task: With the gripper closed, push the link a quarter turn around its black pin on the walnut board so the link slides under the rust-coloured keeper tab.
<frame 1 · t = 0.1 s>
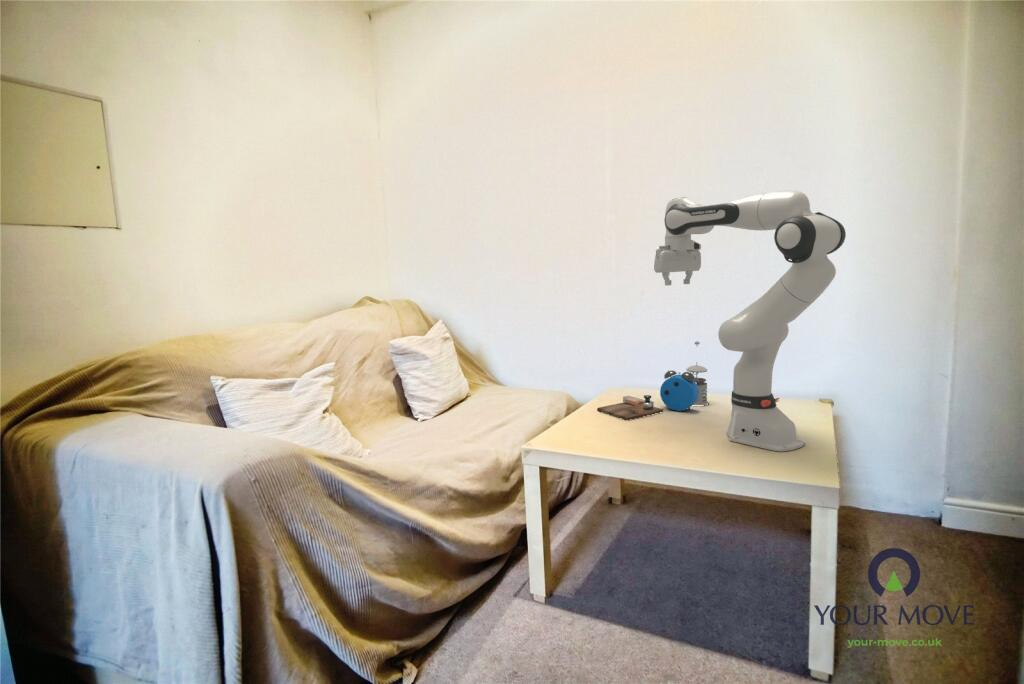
hand: (677, 284, 189), 48 cm above the table, tool pointing down, fingers open, 8 cm apart
keeper: (639, 416, 196), resting on pivot board
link: (638, 399, 205), point 4 cm above the table, hinge at 0.0°
french press: (696, 403, 212), on the table
pivot board: (629, 411, 202), on the table
alarm clock: (679, 410, 203), on the table
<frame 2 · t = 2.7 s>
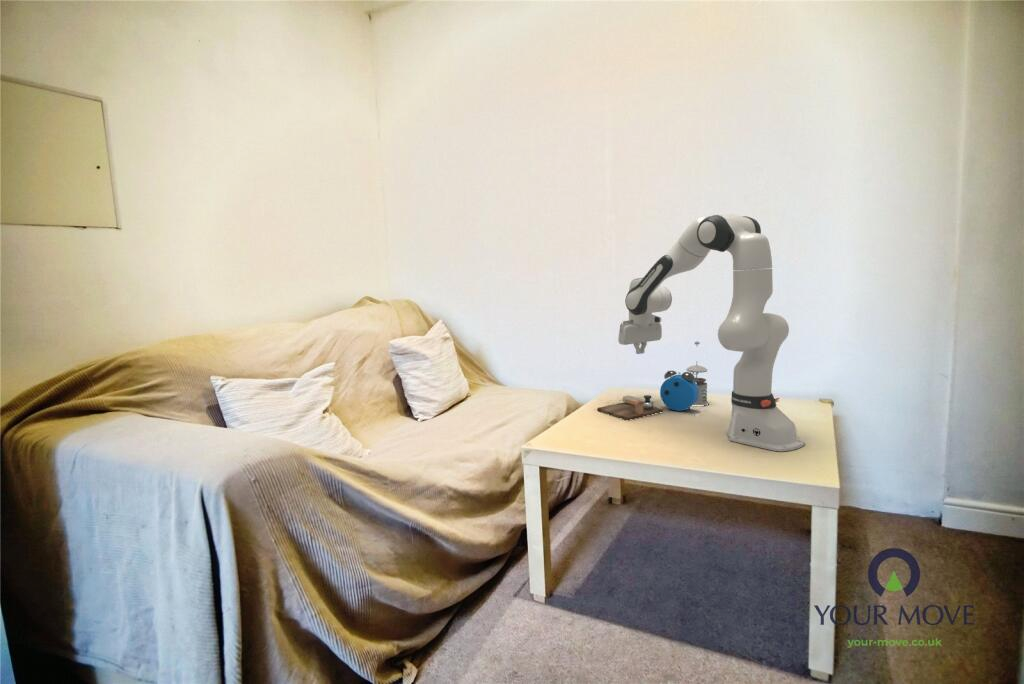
hand: (640, 353, 211), 20 cm above the table, tool pointing down, fingers closed
nothing on the table moved.
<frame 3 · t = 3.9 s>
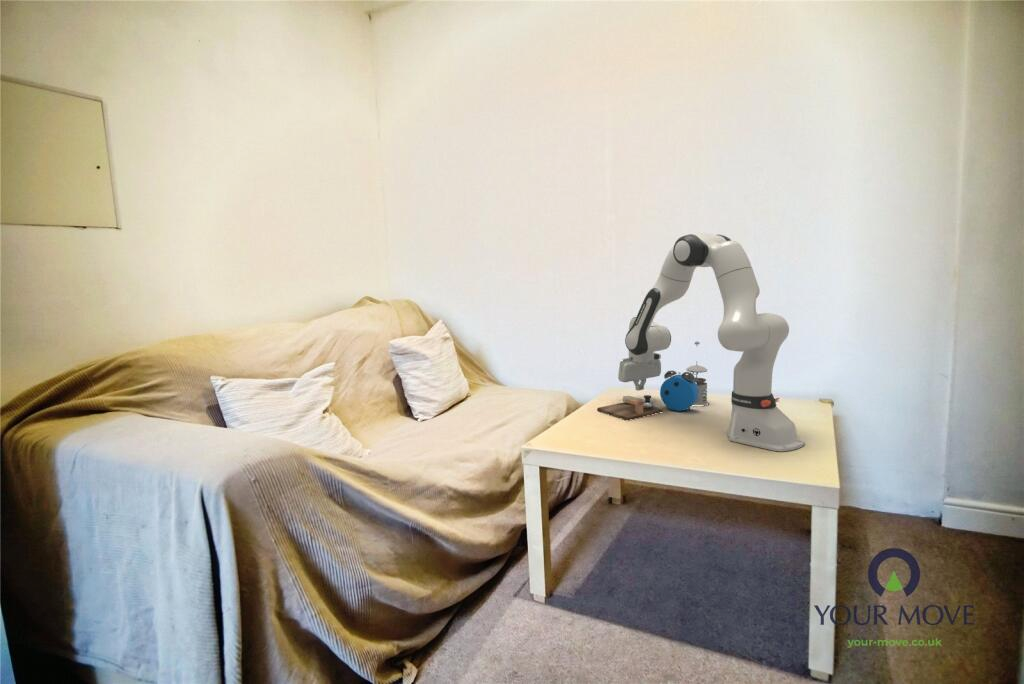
hand: (639, 389, 214), 5 cm above the table, tool pointing down, fingers closed
nothing on the table moved.
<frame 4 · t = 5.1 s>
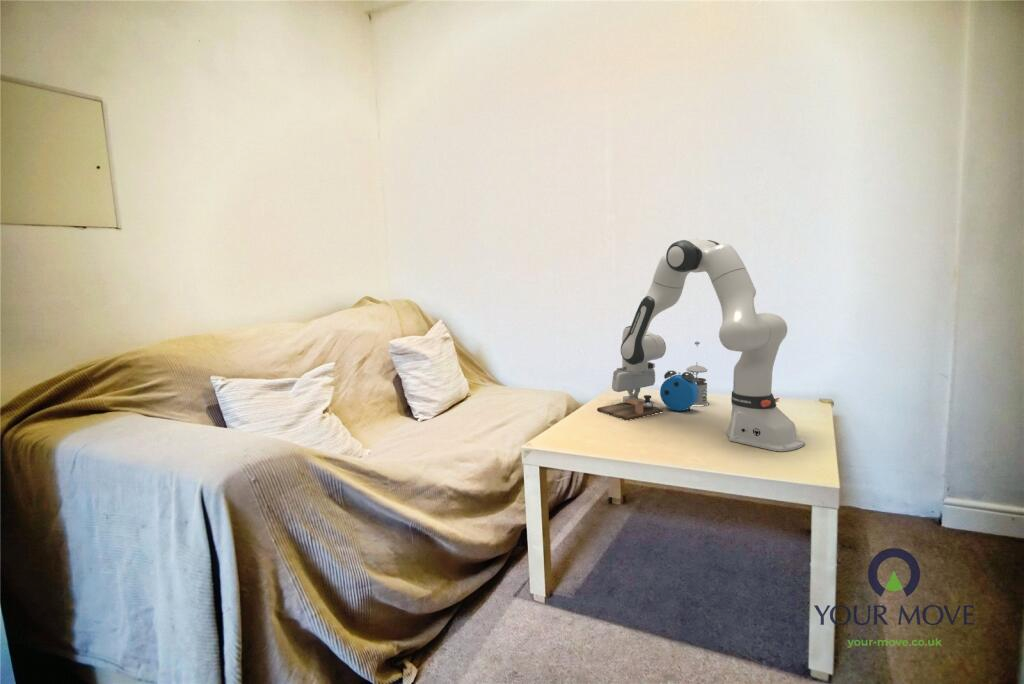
hand: (633, 399, 212), 2 cm above the table, tool pointing down, fingers closed
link: (638, 399, 205), point 4 cm above the table, hinge at 0.0°, touching gripper
everything else where it was.
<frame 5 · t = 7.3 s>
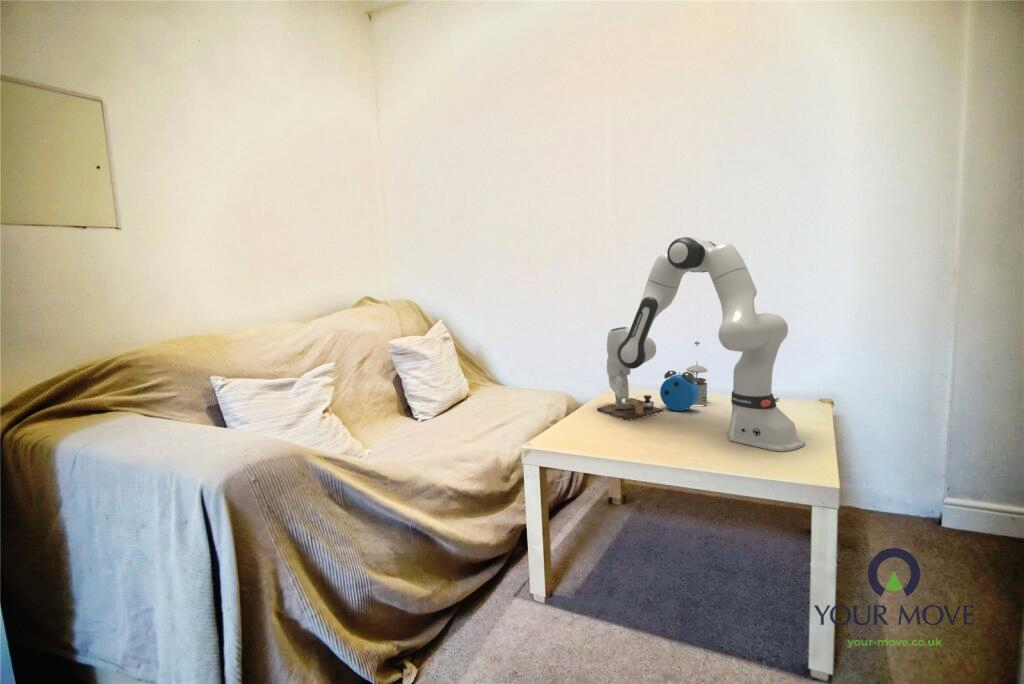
hand: (618, 404, 205), 2 cm above the table, tool pointing down, fingers closed
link: (634, 402, 201), point 4 cm above the table, hinge at 57.1°, touching gripper
everything else where it was.
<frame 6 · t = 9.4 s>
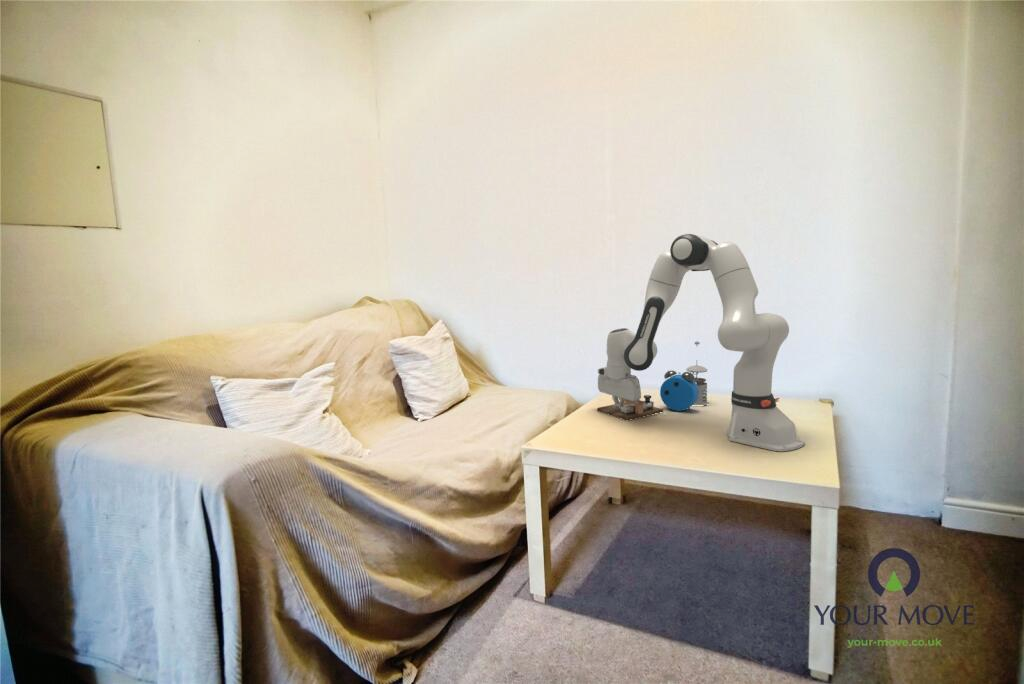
hand: (618, 407, 200), 2 cm above the table, tool pointing down, fingers closed
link: (637, 403, 199), point 4 cm above the table, hinge at 89.5°
everything else where it was.
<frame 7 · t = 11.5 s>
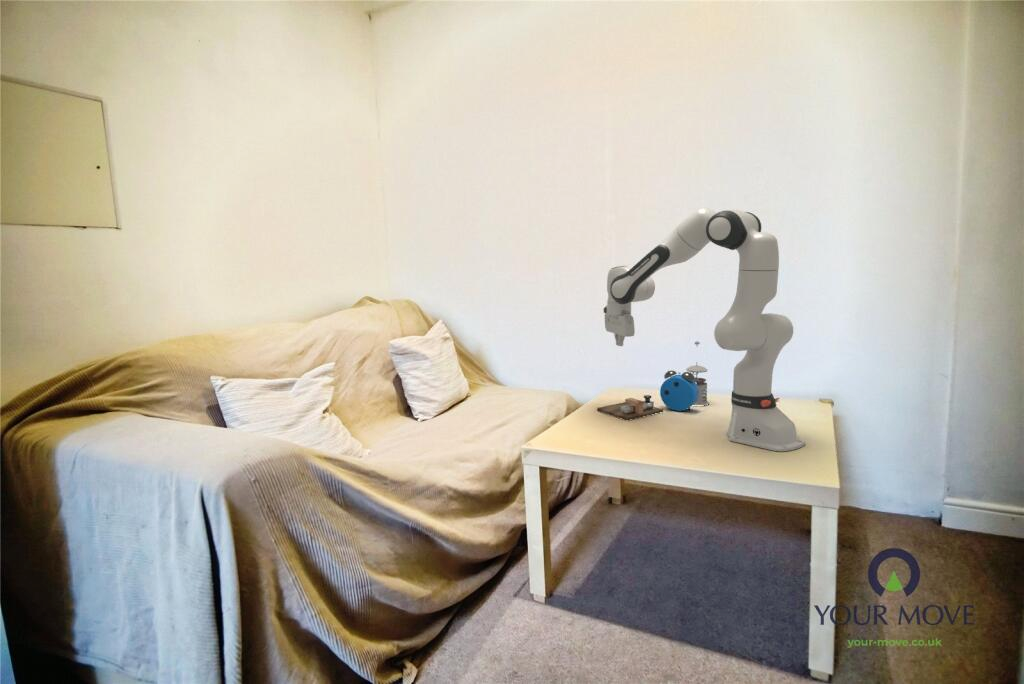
hand: (619, 345, 202), 25 cm above the table, tool pointing down, fingers closed
nothing on the table moved.
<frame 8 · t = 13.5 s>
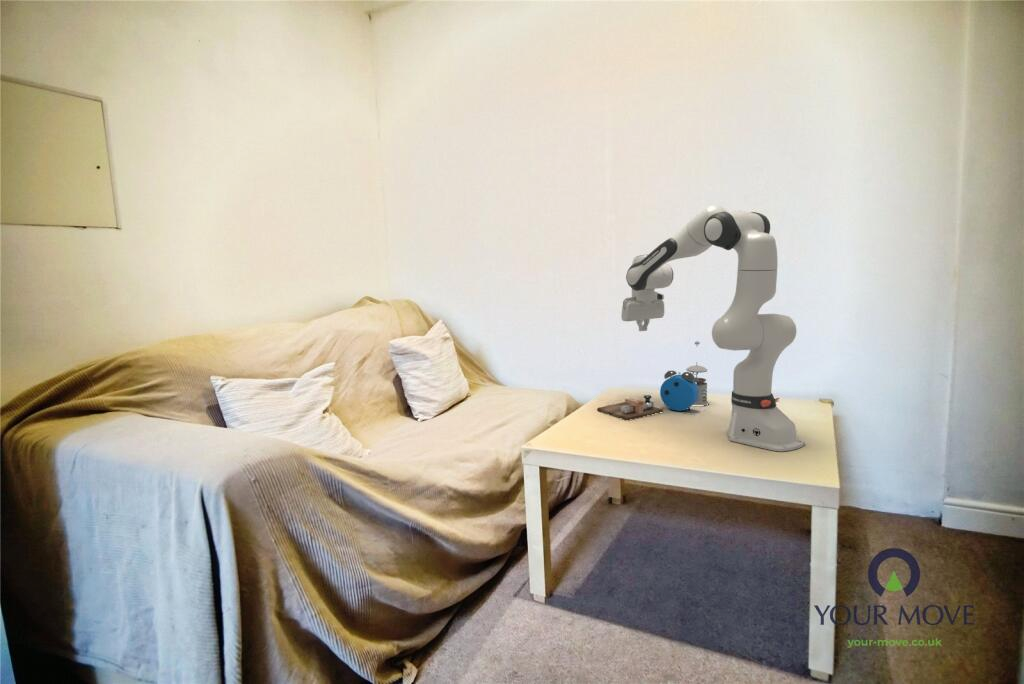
hand: (643, 330, 212), 29 cm above the table, tool pointing down, fingers closed
nothing on the table moved.
at the end: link at +90° (first picture: +0°); alarm clock moved 0.2 cm from its start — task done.
